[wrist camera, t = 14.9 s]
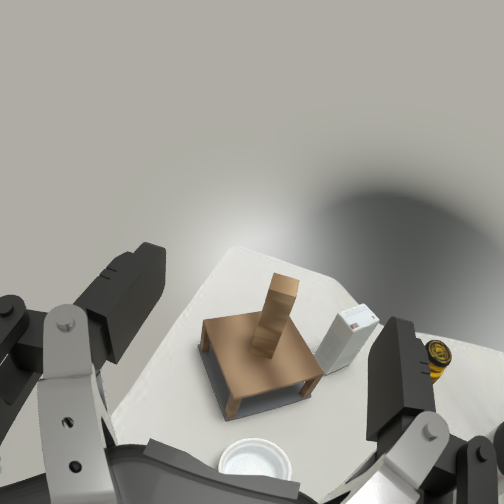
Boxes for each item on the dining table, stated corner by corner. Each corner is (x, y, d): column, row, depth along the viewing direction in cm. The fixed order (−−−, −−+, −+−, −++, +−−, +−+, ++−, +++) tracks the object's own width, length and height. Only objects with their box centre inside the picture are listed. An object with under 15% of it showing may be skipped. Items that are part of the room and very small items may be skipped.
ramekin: (289, 499, 32) (300, 493, 30) (222, 511, 30) (226, 507, 27) (272, 443, 39) (281, 432, 37) (209, 452, 37) (212, 441, 34)
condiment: (407, 414, 45) (448, 375, 39) (373, 385, 50) (408, 342, 43) (424, 391, 50) (461, 350, 43) (392, 364, 55) (425, 321, 48)
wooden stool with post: (274, 333, 56) (305, 246, 45) (309, 396, 46) (359, 315, 36) (199, 346, 50) (212, 254, 40) (227, 419, 41) (253, 339, 30)
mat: (274, 332, 57) (275, 331, 56) (310, 397, 47) (311, 396, 46) (197, 346, 51) (197, 344, 51) (225, 421, 41) (226, 420, 41)
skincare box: (336, 347, 56) (363, 300, 49) (351, 365, 53) (381, 319, 46) (310, 358, 53) (336, 310, 46) (325, 378, 50) (354, 331, 43)
